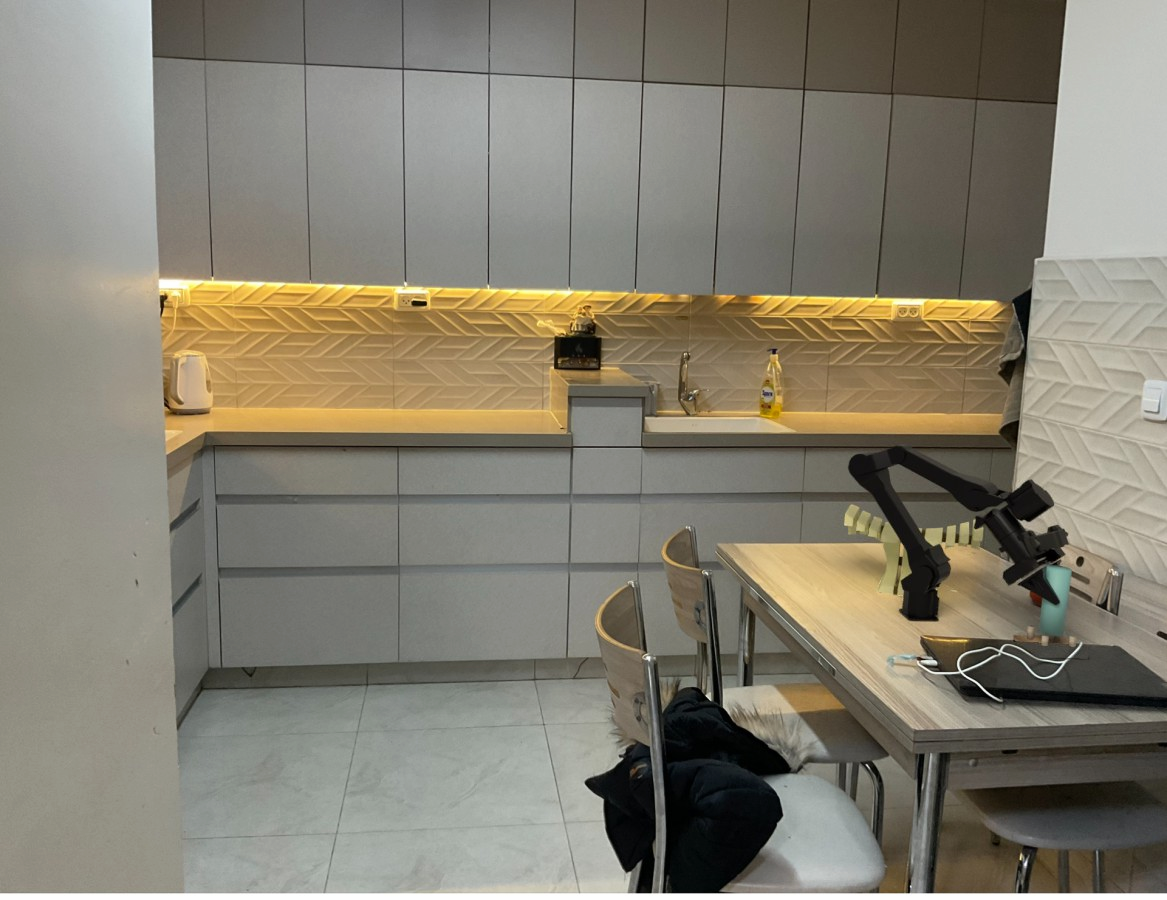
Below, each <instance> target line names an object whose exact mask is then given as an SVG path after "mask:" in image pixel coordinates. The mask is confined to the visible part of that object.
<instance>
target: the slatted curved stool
mask: <svg viewBox="0 0 1167 900" xmlns="http://www.w3.org/2000/svg"><path fill="white" fill-rule="evenodd" d="M871 518H872V513H869V512H868V511H865V510H862V511H861V513H860V507H859V506H857V505H856V504H850V505H849V506H848V508H847V510H846V511H845V514H844V523H843V526H846V527H847V528H848V530H847V532H848V533H847V535H849V536H850V535H856V534H857V533H858V532H859V535H864V536H868V537H871V538H873V539H876V540H877V541H879V542H880V543H881V542H882V543H883V544H882V547H883V550H884V553H885V557H886V568H885V571H884V573H883V575H882V576H881V578H880V579H881V582H880V581H879V582H880V584H879V583H878V585H879V587H878V586H877V589H878V590H877V589H876V592H882V593H881V594H883V593H889V594H888V595H891V594H893V593H895V594H893V595H897V596H898V595H903V594H904V590H903V589H902V585H901V580H902V579H904V578H905V577H906V576H908V575H909V574H911V573H912V572H911V570H910V567H909V564H908V558H907V552H906V549H905V548H904V546H902V547H903V549H902V556H900V553H901V545H902V543H901V541H900V540H899V538H898V536H897V535H896V533H895V531H894V530H893V528H892V527H891V525H890V523H889V522H888V520H886V521H885V523H884V525H883V519H882V518H881V517H879V516H873V519H872V520H871ZM974 525H975V519H973V521H972V528H971V531H972V532H971V534H970V521H966V522H962V523H959V533H956V532H957V531H956V530H957V529H956V528H957V525H956V524H955V525H949V526H947V527H946V532H943V530H944V527H934V528H933V527H931V528H929V527H928V528H925V529H923V527H921V528H920V527H918V528H919V530H920V532H921V533H922V535H923V536H924V538H925V539H926V541H927V542H929V543H930V544H931V545H932V546H935V545H937V544H940V545H941V546H942V545H943V544H942V542H944V543H945V548H944V549H945V550H947V549H949V548H954V547H955V545H956V544H958V547H968V545H969V546H970V548H972V549H975V550H978V551H980V549H981V548H980V547H981V542H983V537H984V527H982V528H979V529H974ZM899 566H900V567H901V569H900V570H901V571H900V575H899V576H900V577H899V581H898V572H899ZM897 581H898V584H897ZM896 585H898V586H896ZM935 589H936V588H935Z"/></svg>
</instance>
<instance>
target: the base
mask: <svg viewBox="0 0 1167 900" xmlns="http://www.w3.org/2000/svg"><path fill="white" fill-rule="evenodd" d="M1034 634H1035V626H1033V625H1027V631H1026V634H1013V635H1012V637H1013V638H1012V641H1013V640H1015V641H1020V642H1039V643H1041V645H1042V646H1048V643H1059V644H1069V646H1071V647H1075V646H1076V645H1077V636H1074V635H1070V636H1069V639H1067V638H1065V637H1064V635H1063V636H1051V635H1047V634H1044V635H1042V634H1041V635H1037V634H1035V635H1034Z"/></svg>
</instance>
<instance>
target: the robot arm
mask: <svg viewBox="0 0 1167 900" xmlns="http://www.w3.org/2000/svg"><path fill="white" fill-rule="evenodd" d="M897 465H900V466H902V467H904V468H905V469H907V470H909V471H911V472H912V473H914V474H916V475H918V476H919V477H922V478H923V479H926V480H927V481H930V482H931V483H933V484H934V485H937V486H938V487H940V488H942V489H944V490H945V491H946V492H948V493H949V494H950V495H951V496H952V497H953V499H954V500H955V501H956V502H958V503H959V504H960V505H962V506H963V507H964V508H965V509H967V510H968V511H970V512H974V513H978V512H979V513H980V512H982V511H985V510H987V509H991V508H992V507H993V508H992V509H991V510H989V511H988V512H987V513H985V514H984V515H982V514H978V515H975V516H974V518H975V519H974V520H975V525H974V529H979V528H982V527H983V528H984V527H986V528H987V530H988V531H989V532H990V534H991V535H992V537H994V539H995V540H996V542H997V543H998V544H999V545H1000V547H999V548H998V550H999V552H1000V553H1001V554H1003V553H1006V554H1007V556H1008V558H1009V559H1010V560H1011V561H1012V563H1013V565H1011V566H1010V567H1008V568H1007V569H1006V568H1005V570H1003V571H1002V579H1003V581H1004V582H1005V583H1006V584H1007V586H1008V587H1010V586H1012V585H1014V584H1016V583H1017V584H1016V586H1018V587H1022V588H1023V589H1025V590H1028V591H1029V592H1030V591H1031V592H1033V593H1035V594H1037V595H1038V596H1040V597H1042V598H1044V599H1045V600H1047V601H1049V602H1051V603H1052V604H1054V605H1058V604H1059V603H1060V600H1059V598H1058V596H1057V595H1056V593H1055V591H1054V590H1053V588H1052V586H1051V585H1050V583H1049V581H1048V580H1047V578H1046V571H1047V566H1048V565H1058V566H1061V563H1062V559H1061V558H1063V557H1064V556H1066V552H1065V551H1064V550H1063V549H1062V548H1064V547H1065V546H1068V545H1070V543H1069V540H1068V538H1067V537H1069V533H1068V532H1067V531H1066V529H1065V528H1062V527H1061V526H1060V525H1059V524H1054V525H1051V526H1047V530H1046V532H1043V533H1040V534H1036V533H1035V531H1033V530H1031V529H1029V530H1026V528H1025V527H1024V525H1023V524H1022V523H1021V522H1023V521H1025V522H1026V523H1031V522H1033V521H1034V520H1035V519H1037V518H1039V517H1041V515H1043V514H1044V513H1046V512H1048V511H1049V510H1051V509H1052V508H1053V507H1054V506H1055V501H1054V499H1053V497H1052V496H1051V494H1050V493H1049V492H1048V491H1047V489H1044V488H1043V487H1042V486H1040V485H1039V484H1037V483H1036V482H1034V480H1033V479H1031V478H1030V479H1027V480H1026V481H1025V482H1023V483H1022V484H1021V485H1020V486H1019V487H1018V488H1016V489H1015V490H1013V491H1012V492H1011V491H1008V490H1004V489H1001V488H998V487H997V485H996V484H995V483H993V482H991V481H989V480H986V479H984V478H980V477H976V476H971V475H968V474H964V473H961V472H958V471H956V470H955V469H952V468H950V467H948V466H946V465H945V464H943V463H941V462H939V461H937V460H935V459H933V458H931V457H929V456H928V455H926V454H924V453H922V452H920V451H918V450H916V449H914V448H913V447H912V446H911V445H909V444H906V443H904V444H903V443H902V444H898V445H895V446H892V447H891V448H887V449H884V450H881V451H879V452H877V451H874V450H872V451H866V452H860V453H856V454H854V455H853V456H852V457H850V459H849V461H848V465H847V470H848V472H849V474H850V476H851V477H852V478H853V479H854V480H855V482H857V484H858V485H859V486H860V487H862V488H863V489H864V490H866V492H868V493H869V494H870V495H871V496H872V498H873V499H874V501H875V502H876V504H877V505H878V508H880V511H881V512H882V513H883V515H884V517H885V518H886V521H887V522H889V523H890V525H891V527H892V528H893V530H894V531H895V533H896V535H897V536H898V538H899V540H900V541H901V545H902V547H904V548H905V549H906V552H907V558H908V564H909V567H910V570H911V572H912V573H911V574H909V575H908V576H906V577H905V578H904V579H902V580H901V585H902V589H903V590H904V594H903V596H902V607H901V608H899V609H898V612H899V613H900V614H901V615H902V616H904V618H906V619H908V620H909V621H923V622H924V621H928V622H938V620H939V617H938V615H939V607H940V597H939V596H938V595H939V591H938V588H939V587H940V586H941V584H942V582H944V581H946V580H947V579H948V578H949V577H950V575H951V571H952V566H951V564H950V561H951V558H950V557H949V556H948V555H947V554H946V552H945V551H944V548H943V547H942V544H941V545H940V544H937V545H935V546H932V545H931V544H930V543H929V542H927V541H926V539H925V538H924V536H923V535H922V533H921V532H920V530H919V528H920V527H918V525H917V523H916V522H915V520H914V519H913V517H912V516H911V514H910V513H909V511H908V509H907V507H906V506H905V504H904V503H903V501H902V500H901V498H900V497H899V495H898V493H897V491H896V490H895V489H894V487H893V485H892V482H891V475H890V470H889V468H891V467H894V466H897ZM1004 504H1006V505H1005V506H1003V507H1002V508H1001V509H998V508H996V507H999V506H1002V505H1004ZM1020 579H1021V581H1020V582H1018V581H1019V580H1020ZM935 588H937V590H936V589H935ZM1069 598H1070V596H1069V597H1068V599H1069Z"/></svg>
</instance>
